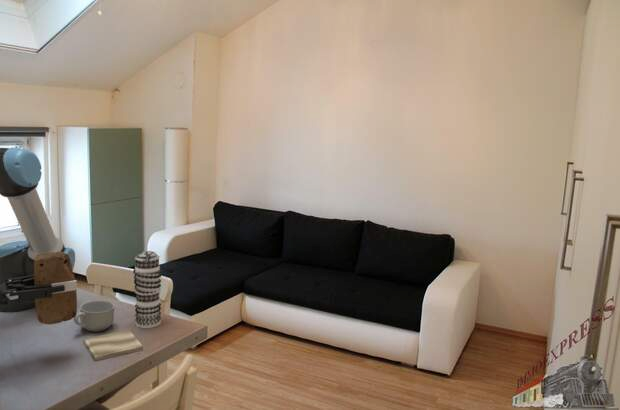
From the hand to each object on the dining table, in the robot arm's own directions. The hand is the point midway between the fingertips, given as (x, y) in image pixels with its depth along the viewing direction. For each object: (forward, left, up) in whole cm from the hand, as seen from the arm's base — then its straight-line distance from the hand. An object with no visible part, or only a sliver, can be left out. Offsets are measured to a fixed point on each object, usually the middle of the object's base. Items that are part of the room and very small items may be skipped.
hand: (73, 280), depth 153 cm
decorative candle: (-10, +25, -23) cm, 35 cm away
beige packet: (+2, +10, -22) cm, 25 cm away
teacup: (-14, +8, -23) cm, 28 cm away
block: (0, -5, -11) cm, 12 cm away
